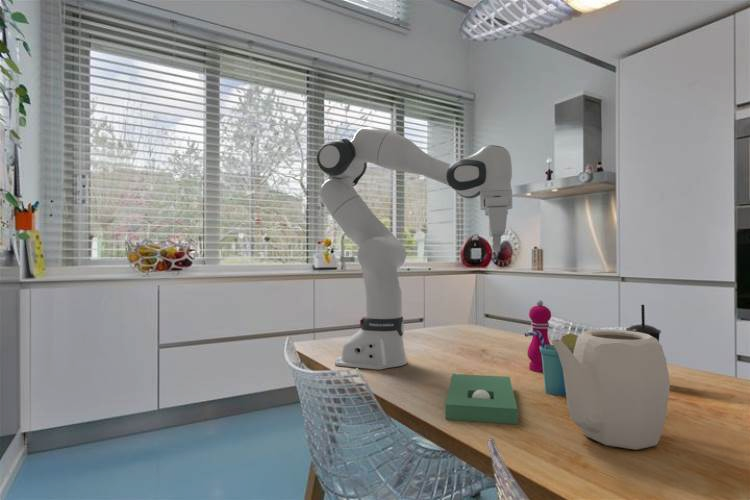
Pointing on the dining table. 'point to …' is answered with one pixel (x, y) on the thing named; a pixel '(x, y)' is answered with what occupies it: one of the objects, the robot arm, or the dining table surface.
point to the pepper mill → (539, 323)
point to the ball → (481, 394)
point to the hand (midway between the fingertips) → (496, 251)
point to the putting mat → (480, 409)
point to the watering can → (616, 386)
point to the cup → (554, 363)
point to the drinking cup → (645, 327)
